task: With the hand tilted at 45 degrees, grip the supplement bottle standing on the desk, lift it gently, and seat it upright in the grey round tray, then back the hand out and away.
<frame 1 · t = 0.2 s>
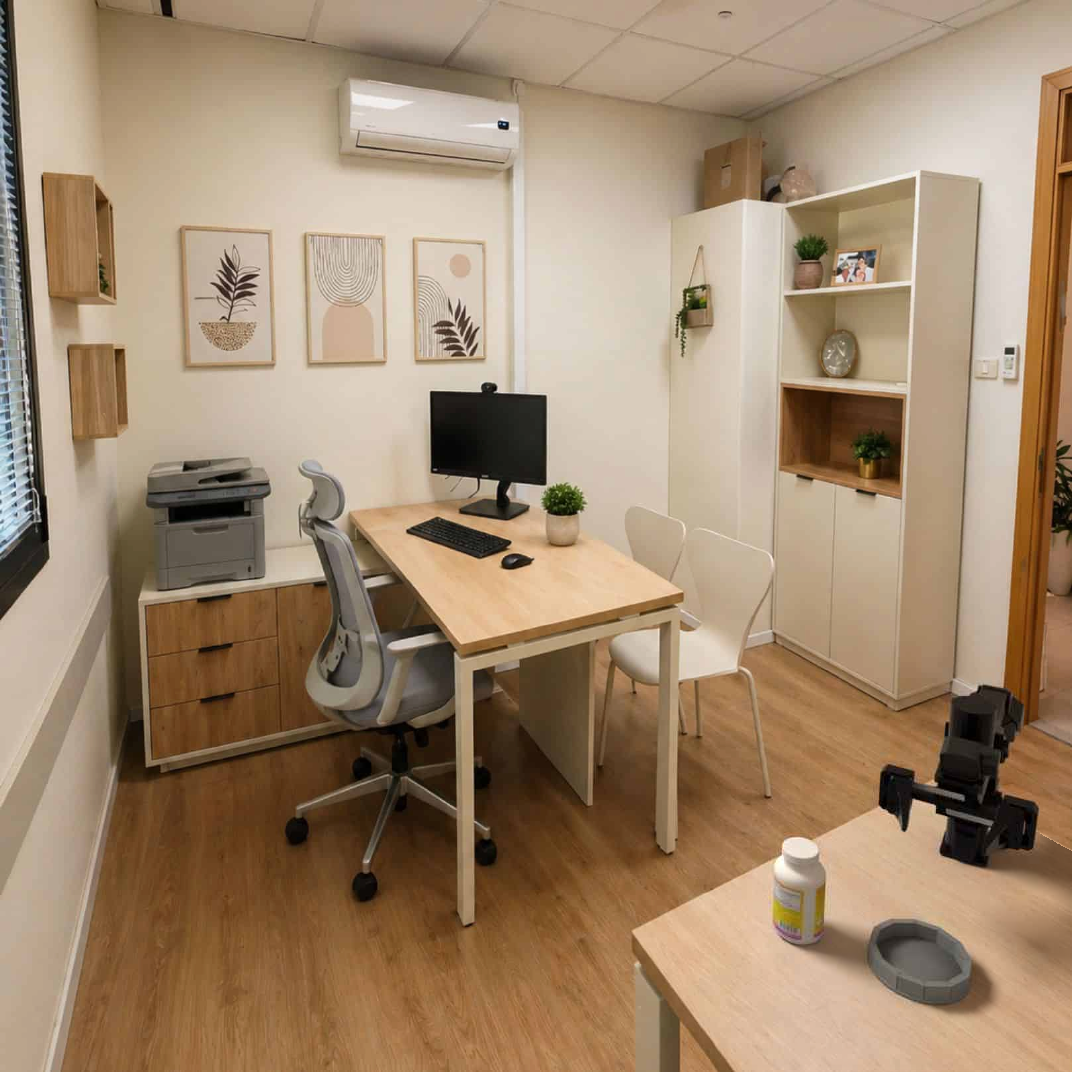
hand: (942, 840, 103), 17 cm above the table, tool horizontal, fingers open, 9 cm apart
supplement bottle: (797, 930, 112), on the table
grey round tray: (917, 967, 105), on the table
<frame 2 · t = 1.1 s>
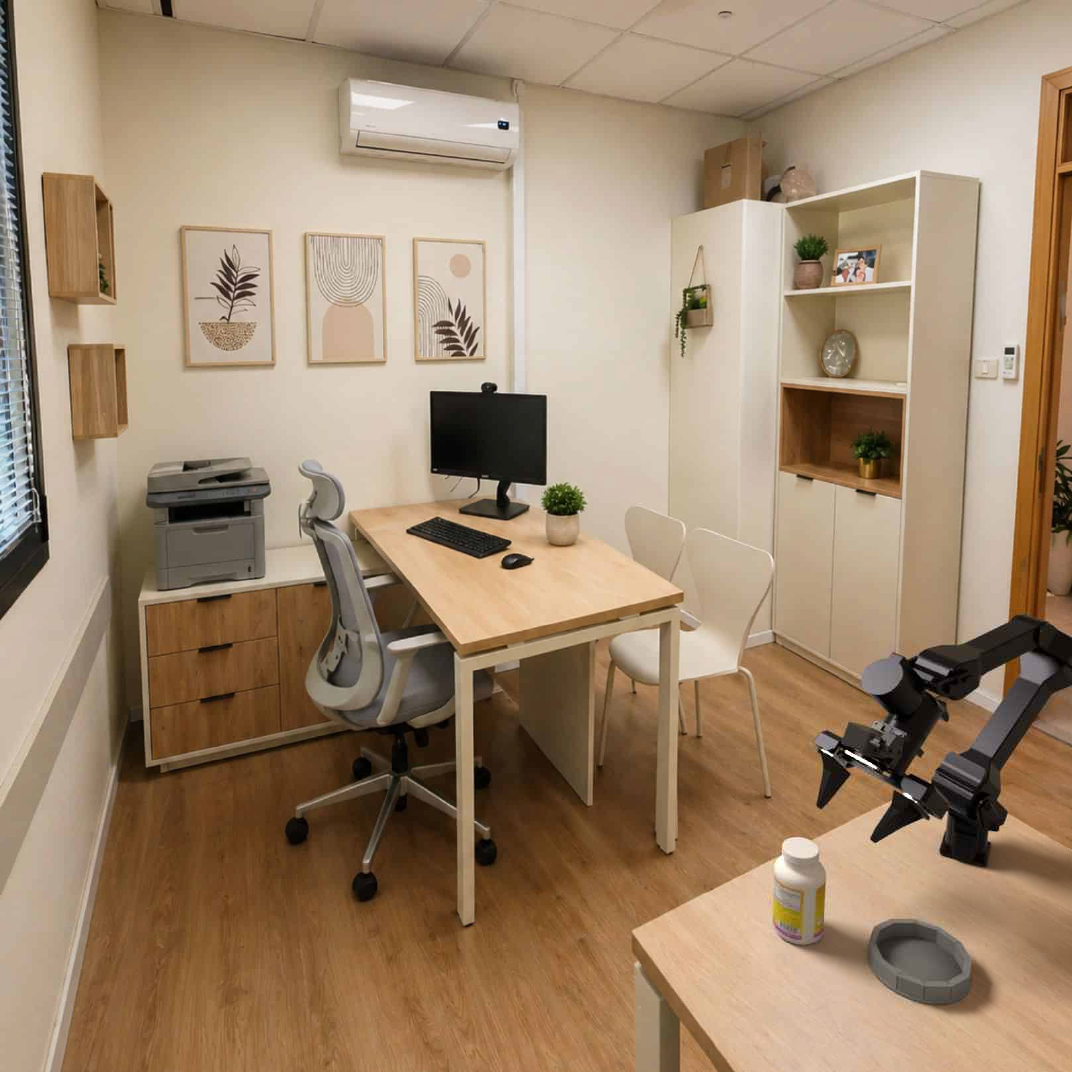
hand: (844, 823, 112), 14 cm above the table, tool tilted 45°, fingers open, 9 cm apart
nothing on the table moved.
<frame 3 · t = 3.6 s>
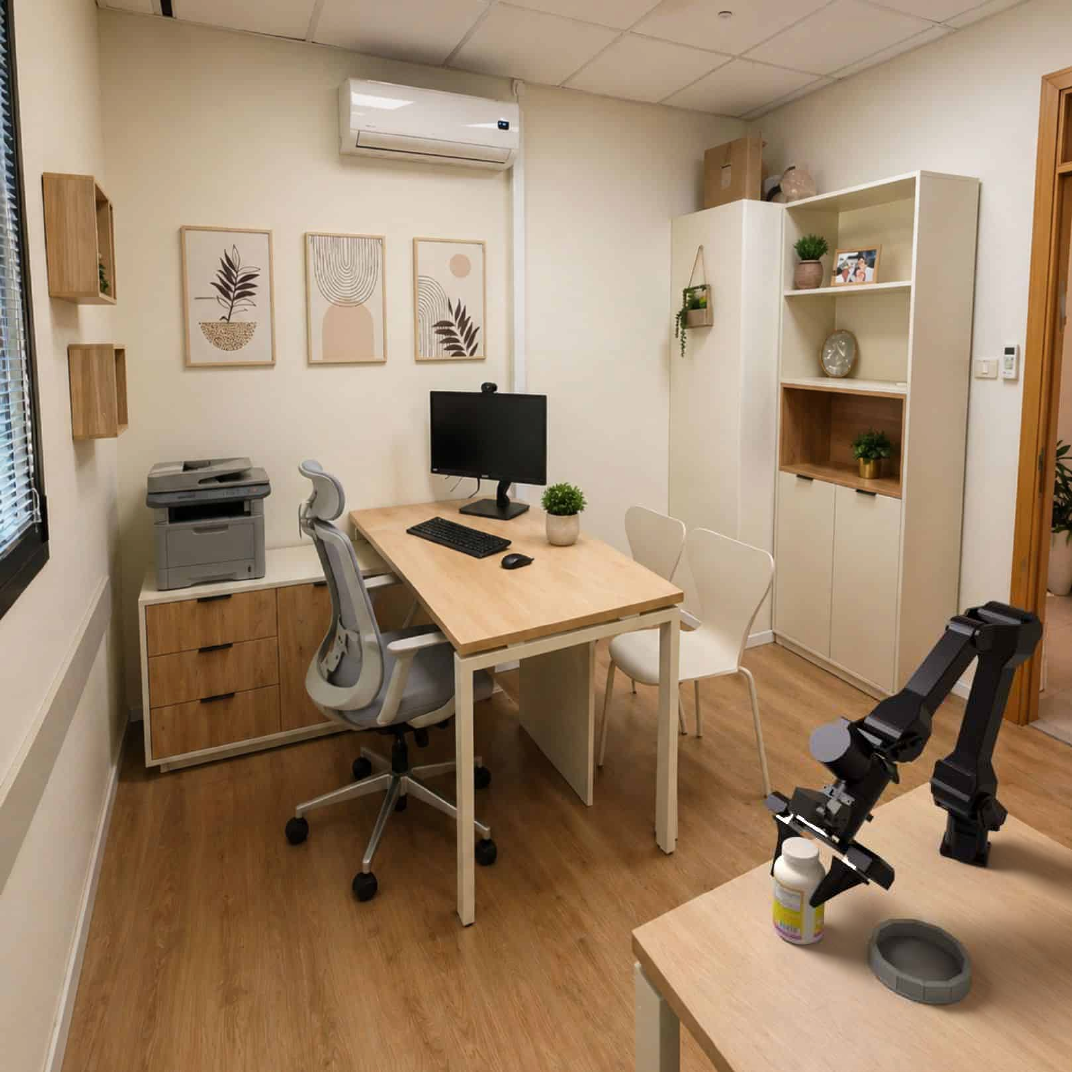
hand: (791, 891, 110), 7 cm above the table, tool tilted 45°, fingers closed on supplement bottle, 7 cm apart
supplement bottle: (797, 930, 112), on the table, touching gripper
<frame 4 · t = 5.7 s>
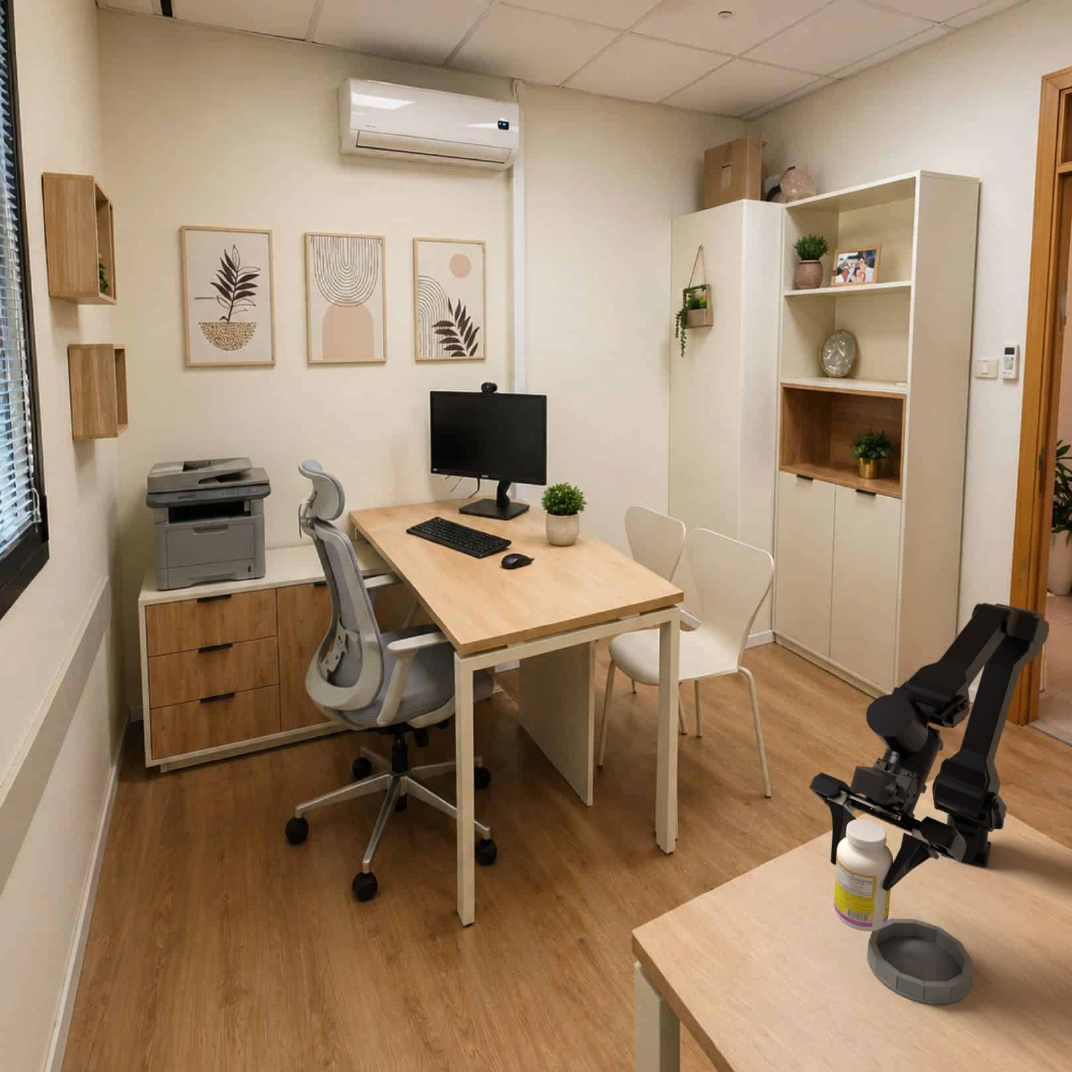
hand: (858, 876, 104), 12 cm above the table, tool tilted 45°, fingers closed on supplement bottle, 7 cm apart
supplement bottle: (859, 916, 107), point 5 cm above the table, touching gripper
when the fingers open (8 cm above the table, at t = 7.8 s): supplement bottle stays where it is, resting on grey round tray.
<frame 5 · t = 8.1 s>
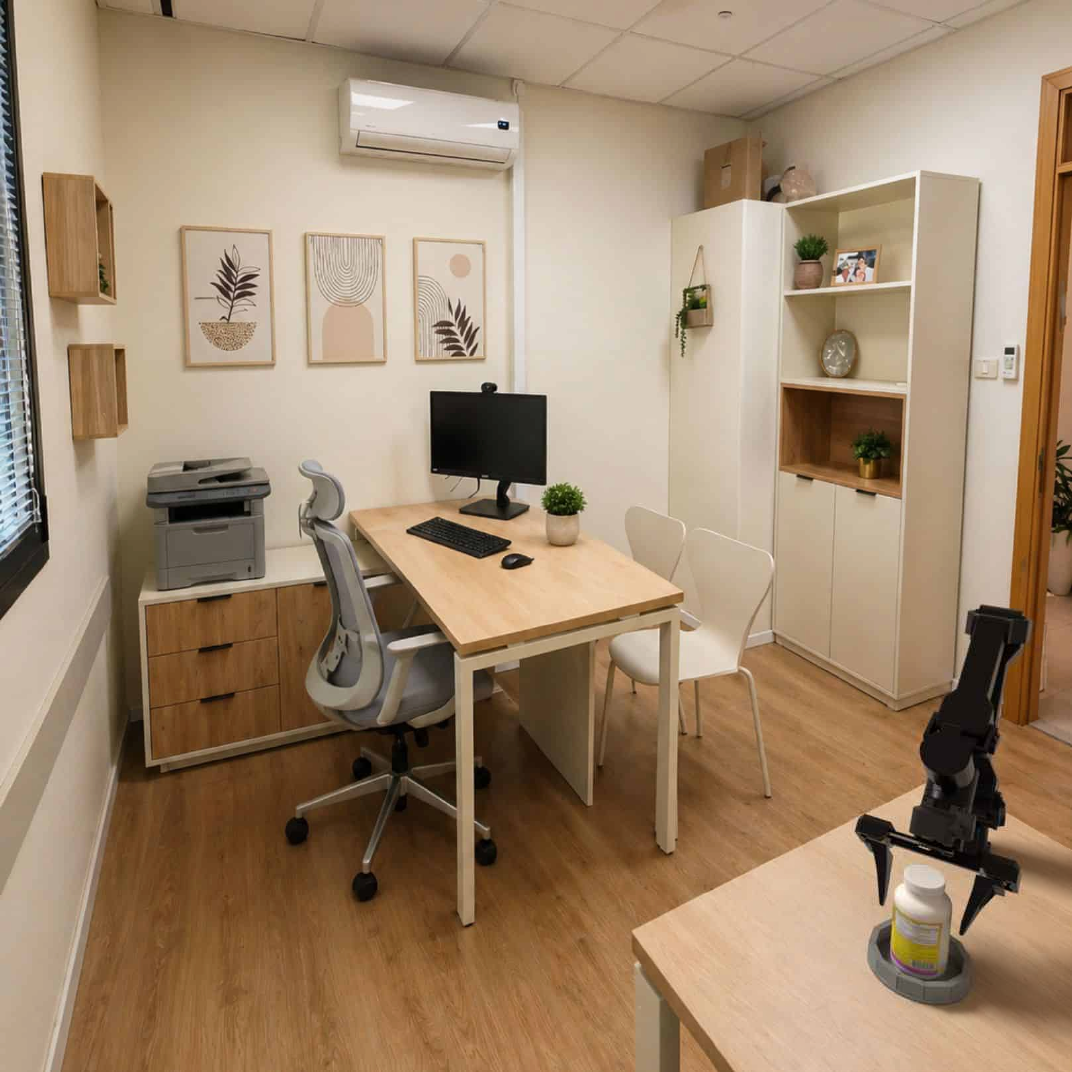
hand: (920, 919, 102), 8 cm above the table, tool tilted 45°, fingers open, 9 cm apart
supplement bottle: (917, 963, 105), resting on grey round tray
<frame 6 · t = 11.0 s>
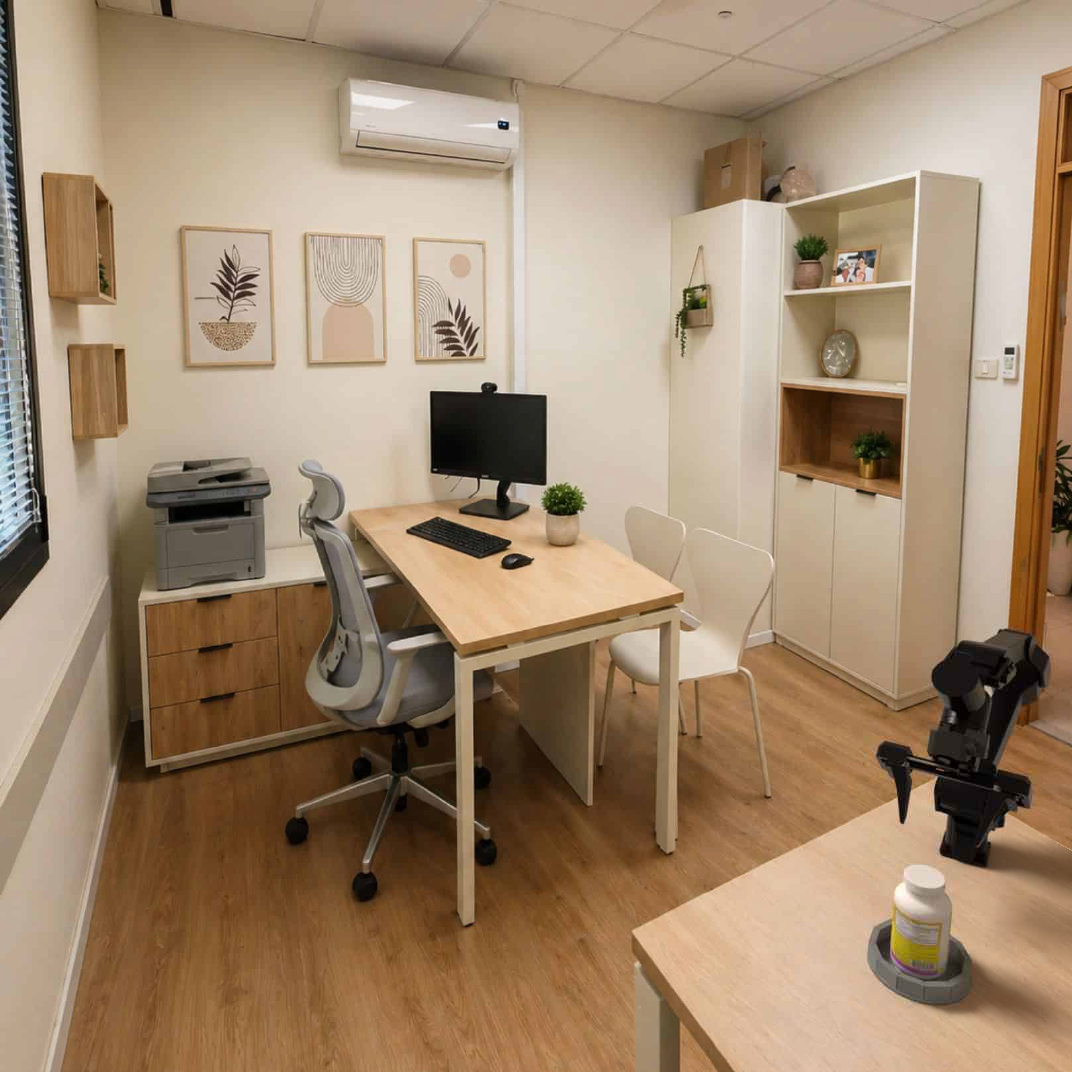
hand: (938, 834, 109), 14 cm above the table, tool tilted 45°, fingers open, 9 cm apart
nothing on the table moved.
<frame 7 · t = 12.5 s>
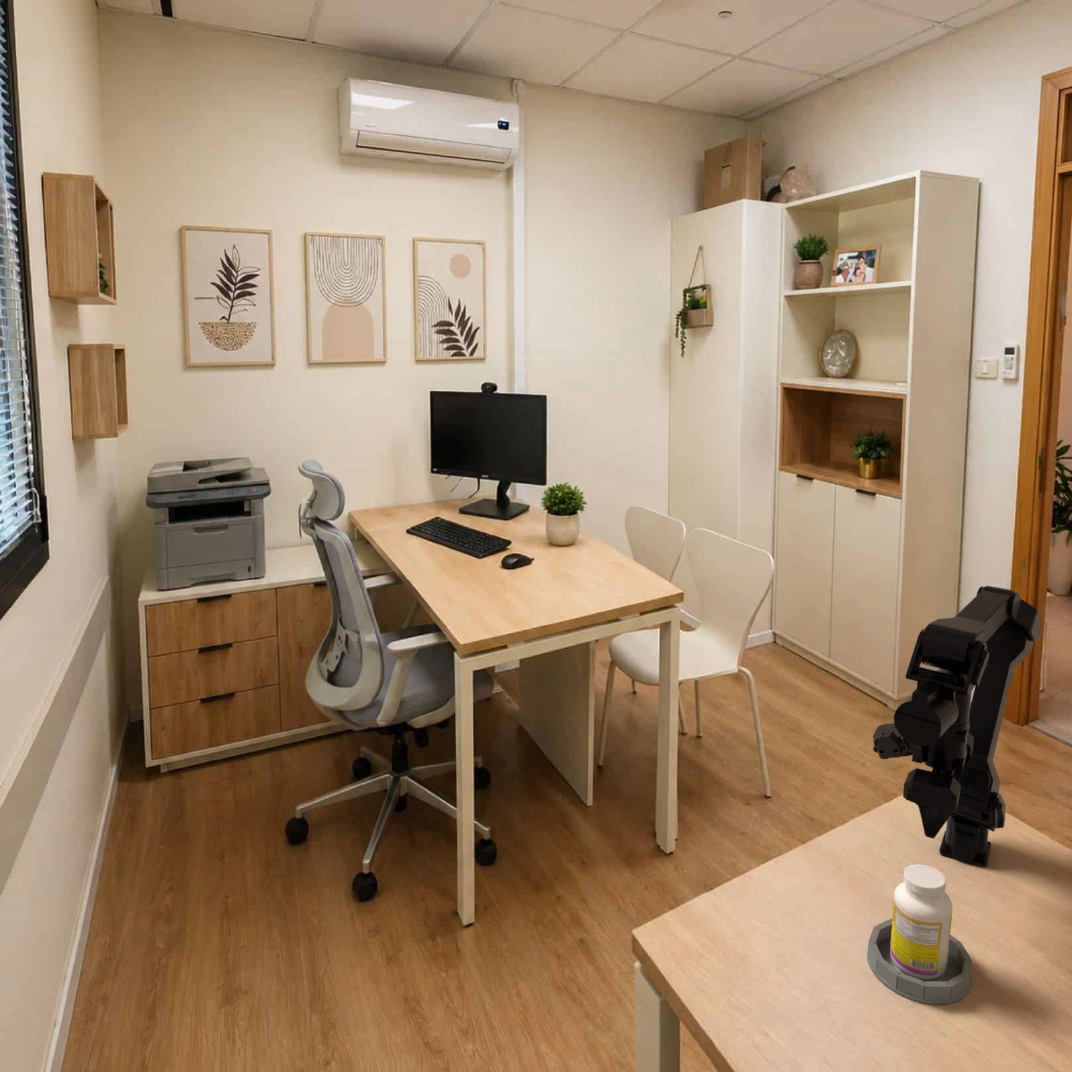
hand: (935, 819, 113), 13 cm above the table, tool pointing down, fingers open, 9 cm apart
nothing on the table moved.
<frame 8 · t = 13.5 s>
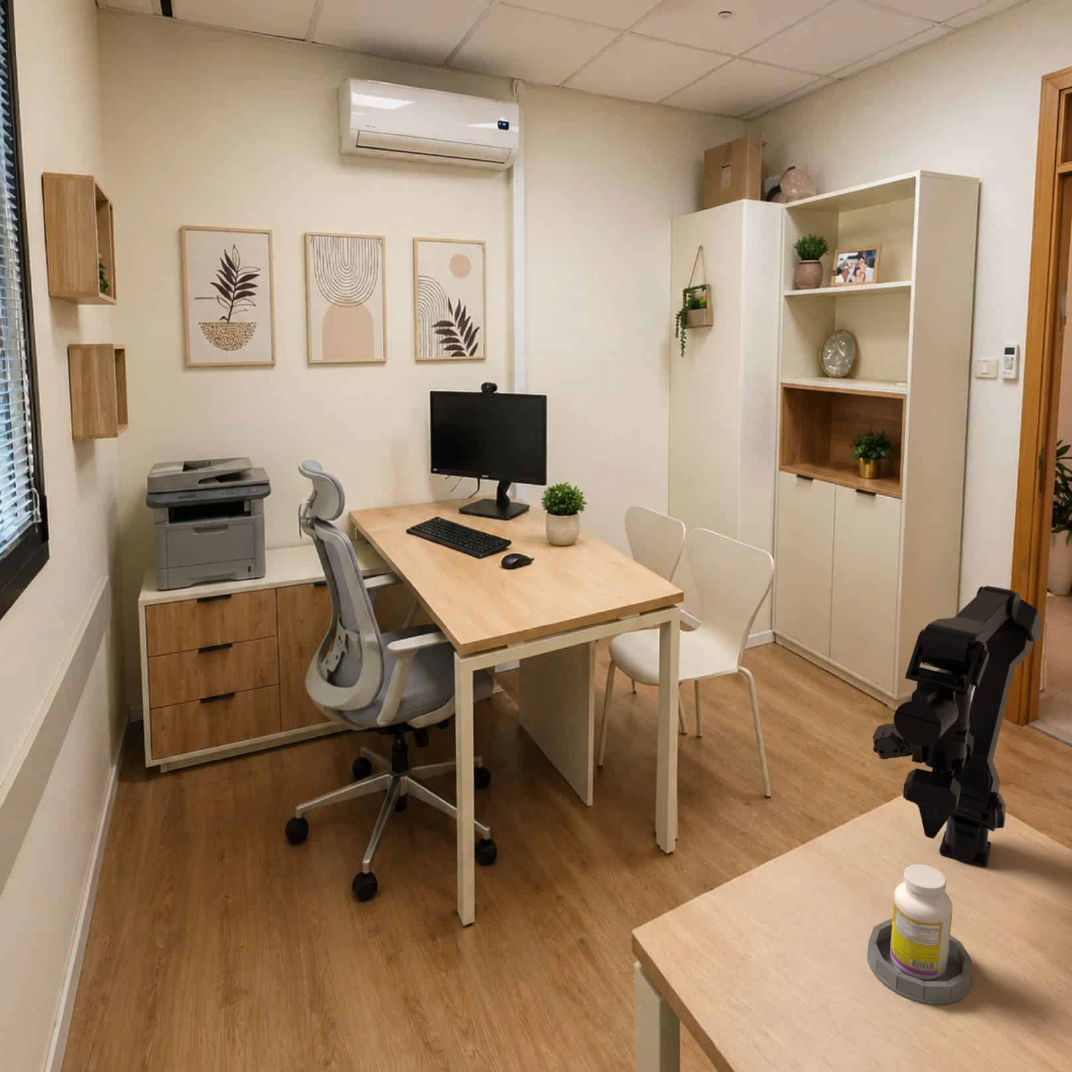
hand: (935, 819, 113), 13 cm above the table, tool pointing down, fingers open, 9 cm apart
nothing on the table moved.
at the end: supplement bottle 0.2 cm off-centre on the grey round tray, point 0.3 cm above the grey round tray's base; supplement bottle tilted 0°; the gripper is holding nothing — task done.
